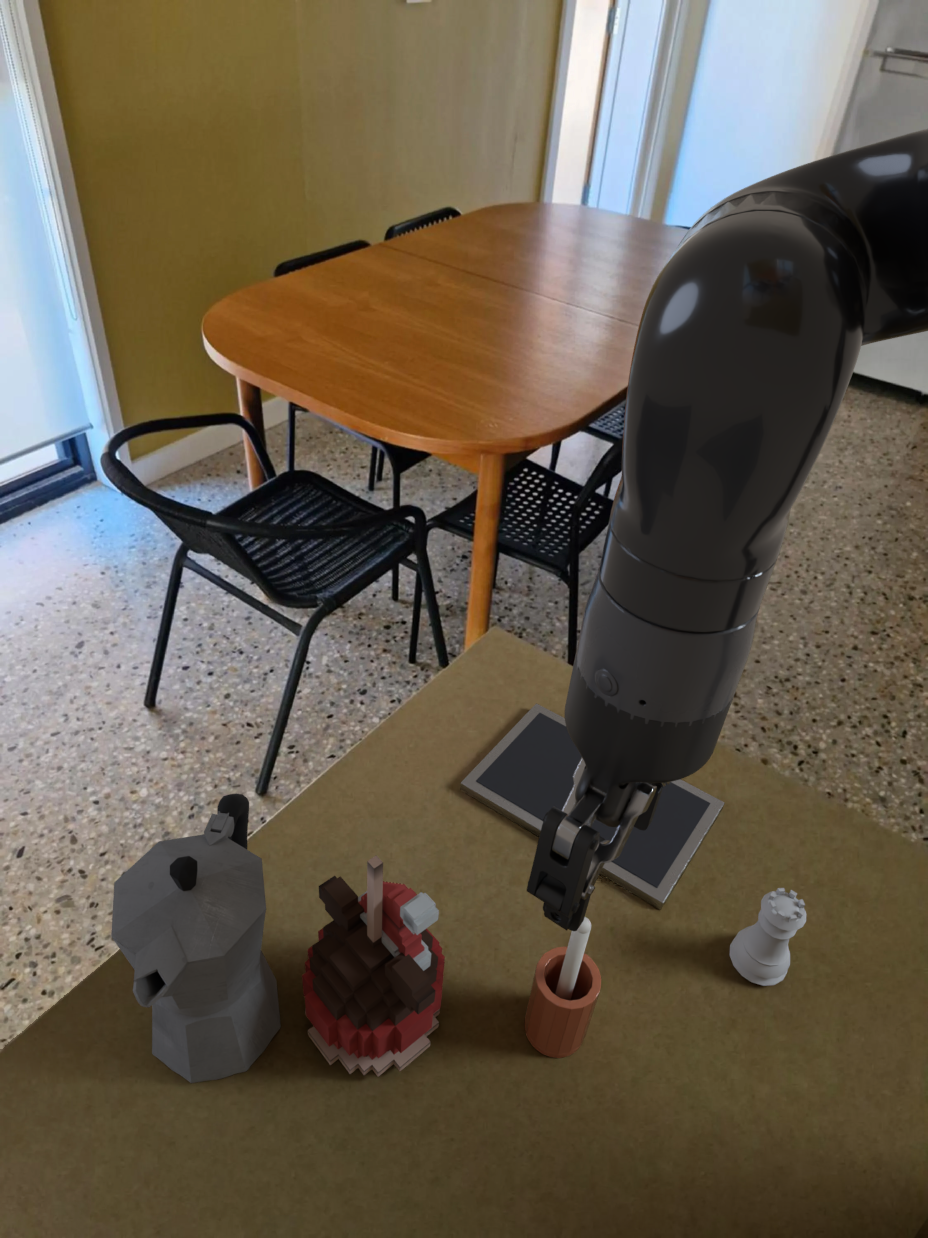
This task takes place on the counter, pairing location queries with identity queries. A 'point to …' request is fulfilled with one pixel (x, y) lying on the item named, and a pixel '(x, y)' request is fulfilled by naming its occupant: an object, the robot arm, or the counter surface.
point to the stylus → (573, 960)
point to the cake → (374, 975)
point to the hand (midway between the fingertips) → (598, 866)
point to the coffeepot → (200, 947)
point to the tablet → (543, 778)
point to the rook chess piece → (769, 939)
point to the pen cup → (560, 1006)
